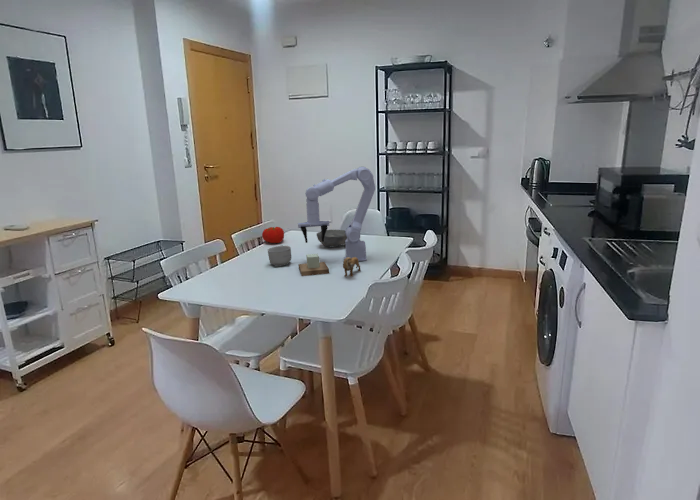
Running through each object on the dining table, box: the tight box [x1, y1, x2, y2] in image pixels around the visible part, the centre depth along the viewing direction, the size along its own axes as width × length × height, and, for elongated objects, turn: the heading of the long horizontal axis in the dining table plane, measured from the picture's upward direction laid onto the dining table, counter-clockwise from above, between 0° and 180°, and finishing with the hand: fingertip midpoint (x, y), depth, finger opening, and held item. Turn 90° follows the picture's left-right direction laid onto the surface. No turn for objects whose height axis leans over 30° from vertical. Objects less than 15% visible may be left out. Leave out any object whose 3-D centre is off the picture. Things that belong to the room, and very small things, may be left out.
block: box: [306, 253, 320, 268], centre depth 204 cm, size 5×5×5 cm
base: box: [298, 261, 330, 277], centre depth 204 cm, size 12×12×2 cm
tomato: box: [261, 226, 285, 244], centre depth 258 cm, size 14×13×9 cm
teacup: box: [267, 244, 292, 267], centre depth 217 cm, size 14×11×8 cm
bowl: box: [316, 229, 347, 248], centre depth 246 cm, size 18×18×8 cm
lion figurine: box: [342, 257, 361, 278], centre depth 197 cm, size 15×5×9 cm, turn 164°
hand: (314, 241), depth 216 cm, fingers open, 7 cm apart
